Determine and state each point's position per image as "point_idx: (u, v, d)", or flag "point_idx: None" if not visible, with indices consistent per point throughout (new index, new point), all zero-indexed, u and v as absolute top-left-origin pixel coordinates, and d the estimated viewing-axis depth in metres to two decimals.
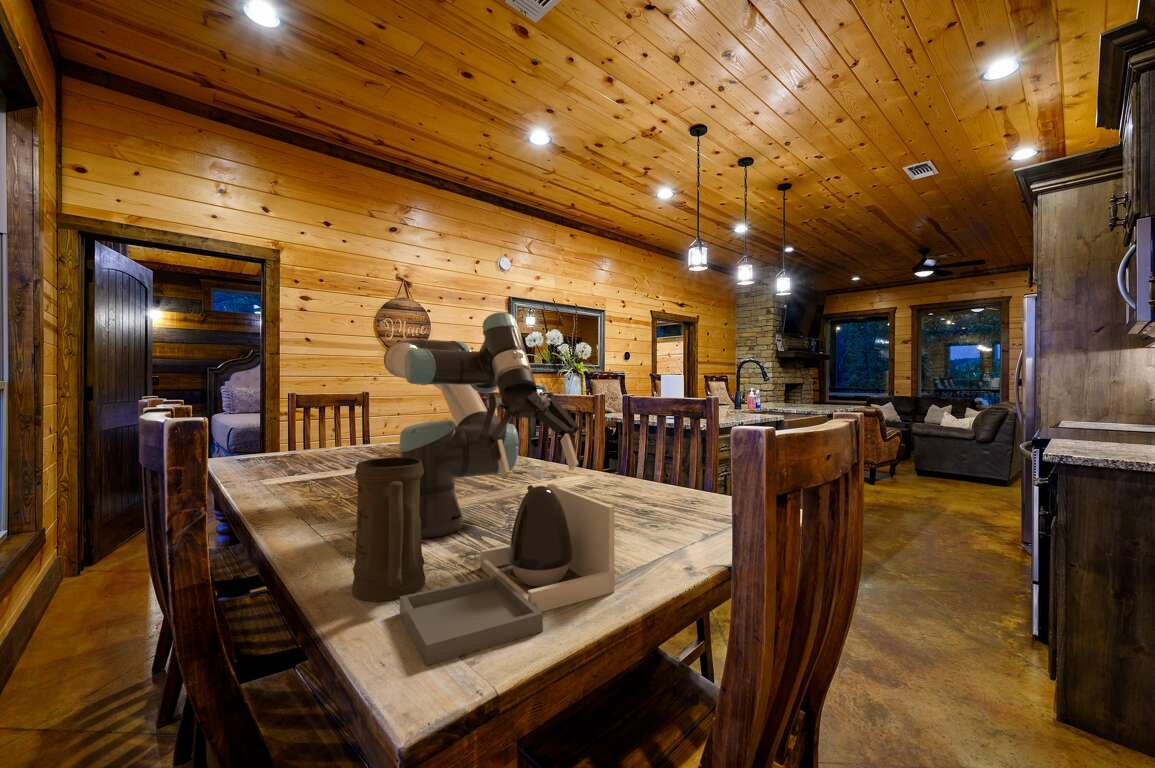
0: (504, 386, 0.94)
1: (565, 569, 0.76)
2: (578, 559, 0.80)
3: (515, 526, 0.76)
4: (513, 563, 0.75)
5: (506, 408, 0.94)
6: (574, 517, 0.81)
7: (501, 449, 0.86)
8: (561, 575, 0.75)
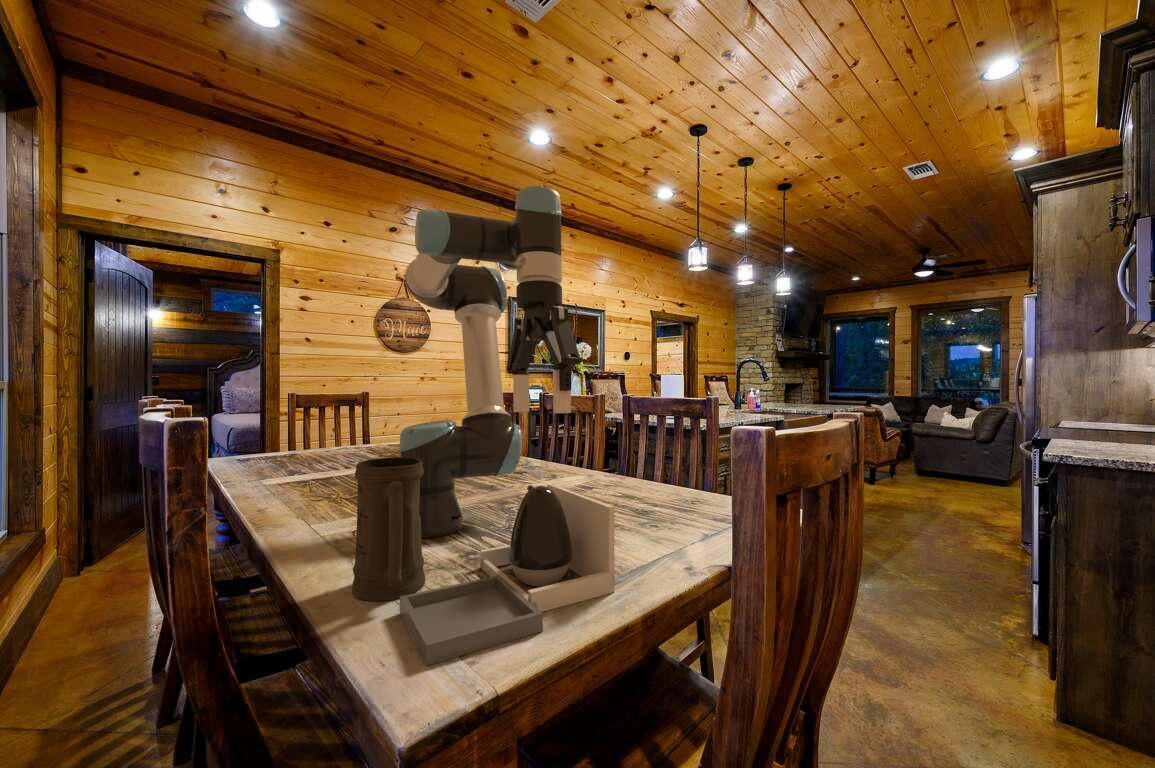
0: None
1: (565, 569, 0.76)
2: (578, 559, 0.80)
3: (515, 526, 0.76)
4: (513, 563, 0.75)
5: None
6: (574, 517, 0.81)
7: (513, 386, 0.84)
8: (561, 575, 0.75)
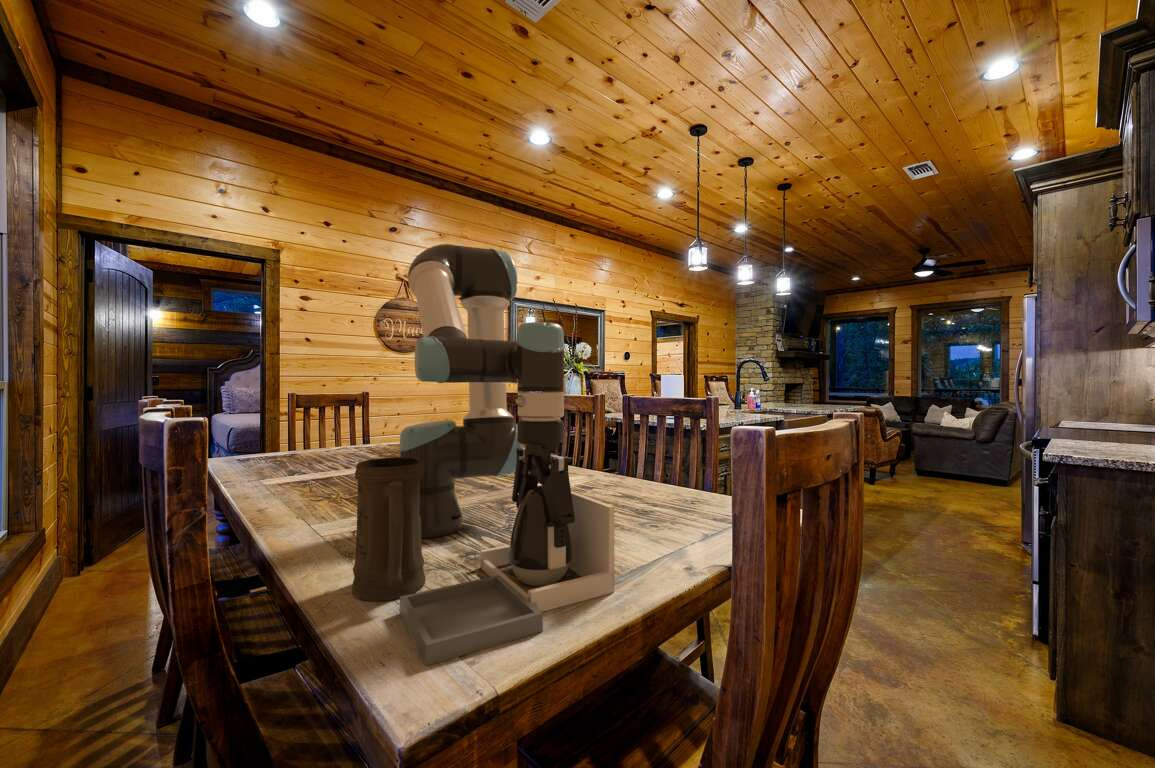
0: None
1: (565, 569, 0.76)
2: (578, 559, 0.80)
3: (515, 526, 0.76)
4: (513, 563, 0.75)
5: None
6: None
7: None
8: (561, 575, 0.75)
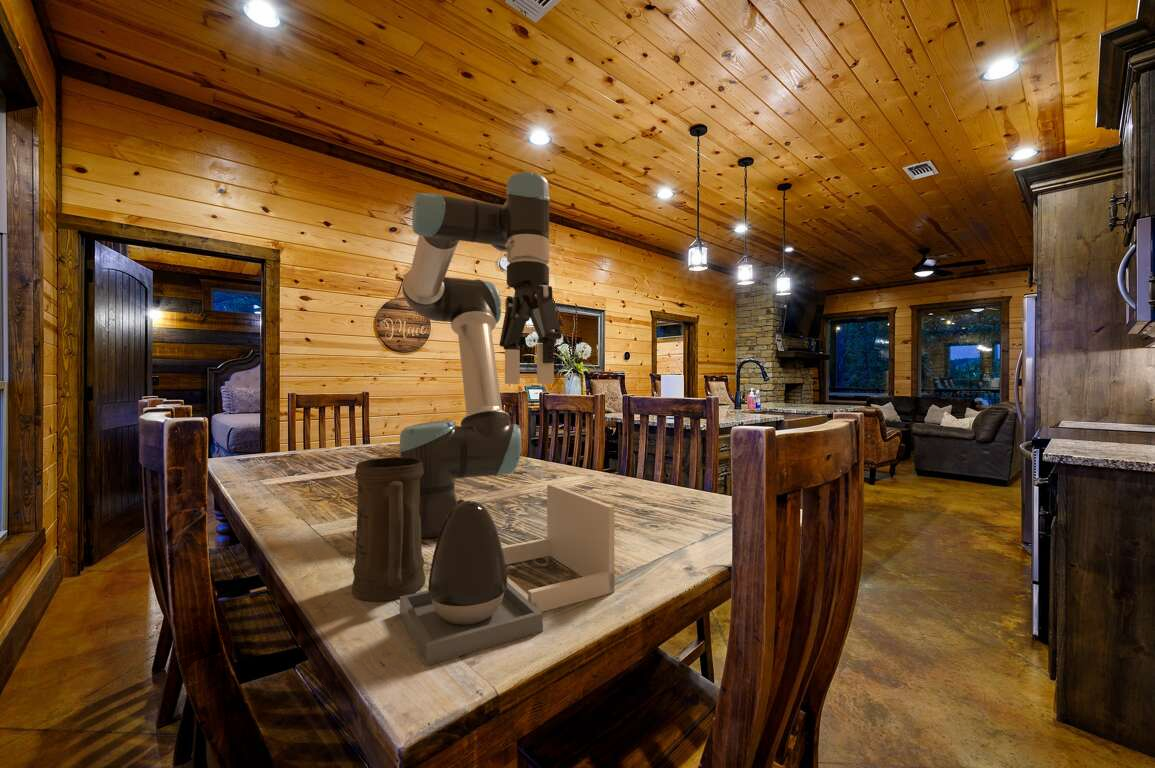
0: None
1: (496, 603, 0.62)
2: (578, 559, 0.80)
3: (435, 550, 0.62)
4: (431, 596, 0.61)
5: None
6: (574, 517, 0.81)
7: (505, 359, 0.91)
8: (490, 611, 0.61)
